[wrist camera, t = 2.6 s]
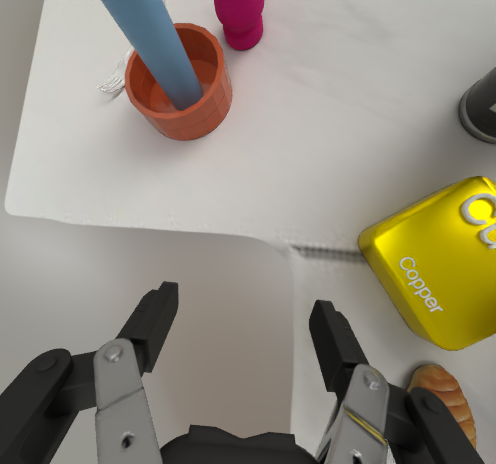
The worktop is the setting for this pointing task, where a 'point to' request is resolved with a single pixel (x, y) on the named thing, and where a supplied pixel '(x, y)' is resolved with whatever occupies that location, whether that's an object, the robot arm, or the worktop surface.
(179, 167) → the worktop surface
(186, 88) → the bottle
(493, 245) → the element tile
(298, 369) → the worktop surface
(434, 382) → the pastry
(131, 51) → the fork
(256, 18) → the pepper mill
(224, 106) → the pot
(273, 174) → the worktop surface
